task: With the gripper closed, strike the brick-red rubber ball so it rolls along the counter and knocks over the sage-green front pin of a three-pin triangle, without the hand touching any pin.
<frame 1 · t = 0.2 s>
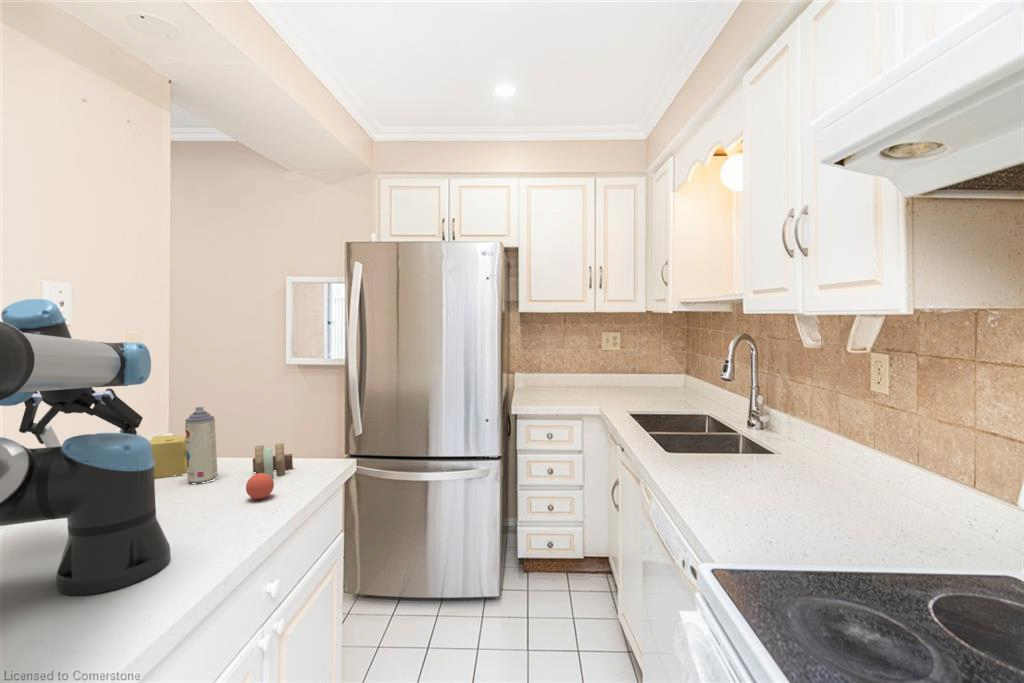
hand: (95, 450, 106), 15 cm above the countertop, tool tilted 35°, fingers open, 13 cm apart
right rear pin: (280, 474, 137), on the countertop
yellow box: (170, 473, 142), on the countertop
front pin: (269, 479, 133), on the countertop
back wall: (273, 470, 141), on the countertop
ball: (260, 486, 118), on the countertop
aerosol can: (203, 481, 134), on the countertop
left rear pin: (260, 477, 135), on the countertop
smoothie: (126, 497, 122), on the countertop
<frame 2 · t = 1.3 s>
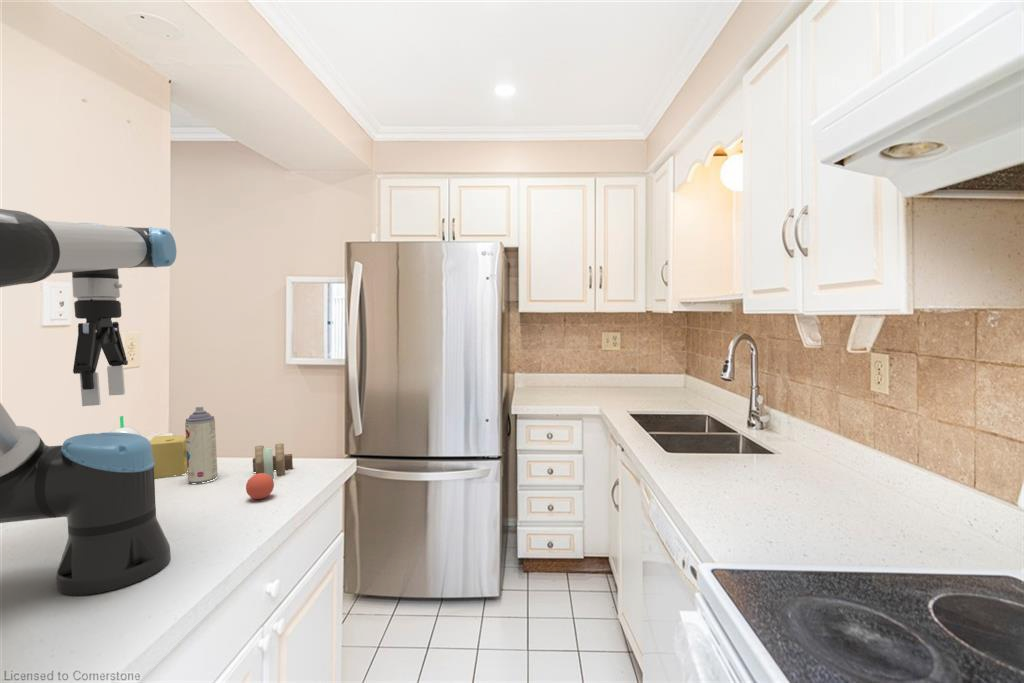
hand: (105, 399, 105), 26 cm above the countertop, tool pointing down, fingers open, 13 cm apart
nothing on the countertop moved.
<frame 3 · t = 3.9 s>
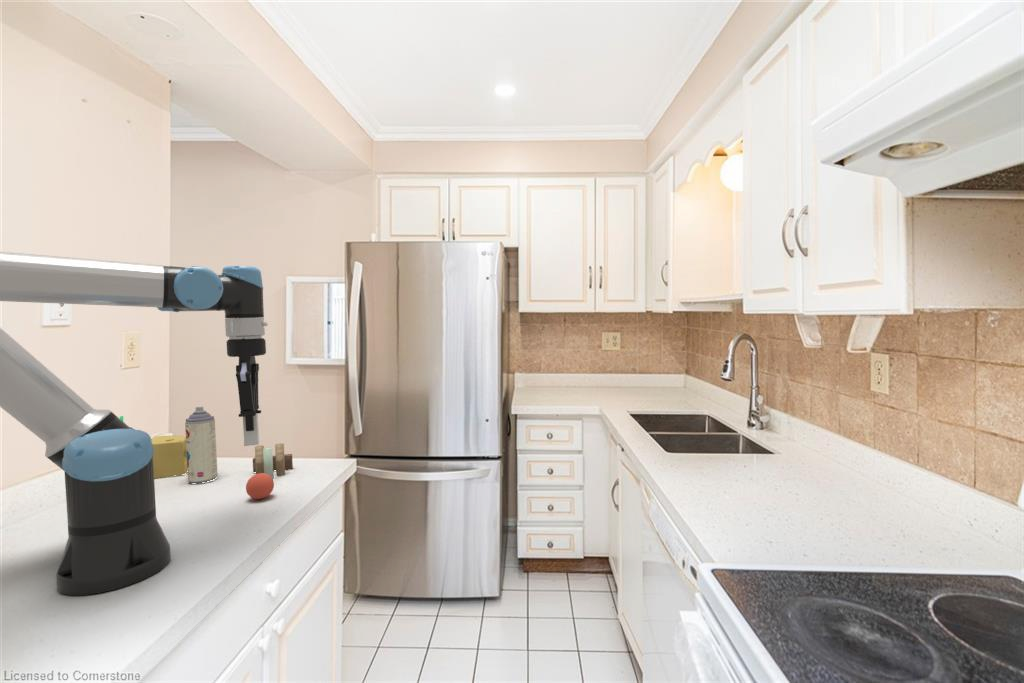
hand: (251, 444, 109), 15 cm above the countertop, tool pointing down, fingers closed
nothing on the countertop moved.
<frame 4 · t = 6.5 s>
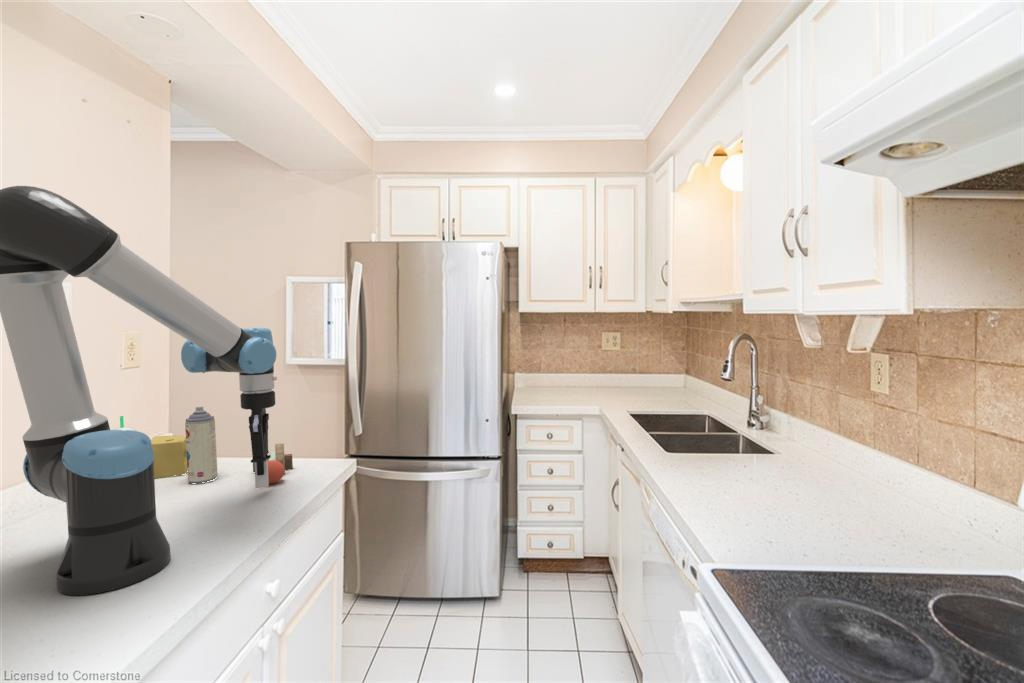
hand: (262, 486, 121), 2 cm above the countertop, tool pointing down, fingers closed
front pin: (269, 475, 133), point 1 cm above the countertop, tilted 60°
ball: (271, 471, 130), on the countertop
everything else where it was.
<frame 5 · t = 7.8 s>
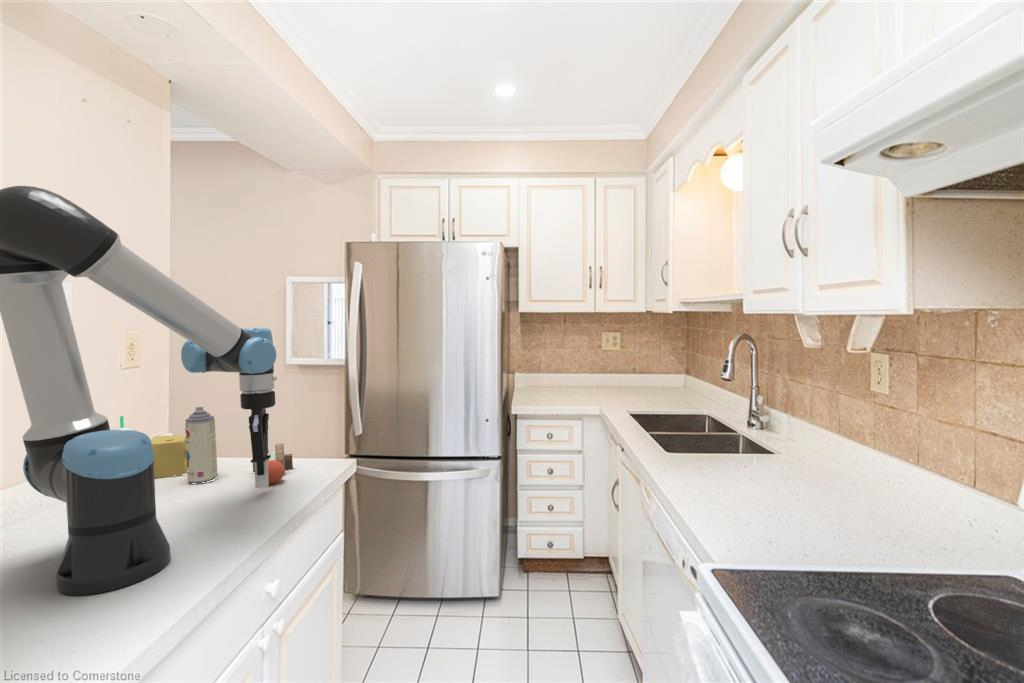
hand: (262, 486, 121), 2 cm above the countertop, tool pointing down, fingers closed
nothing on the countertop moved.
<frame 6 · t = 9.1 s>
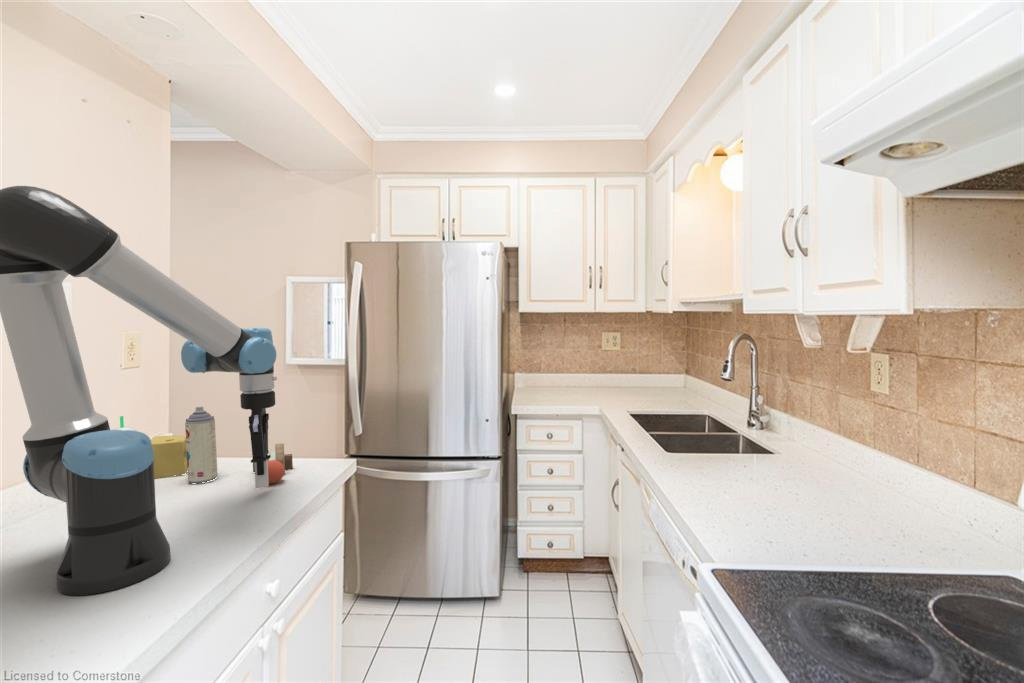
hand: (262, 486, 121), 2 cm above the countertop, tool pointing down, fingers closed
nothing on the countertop moved.
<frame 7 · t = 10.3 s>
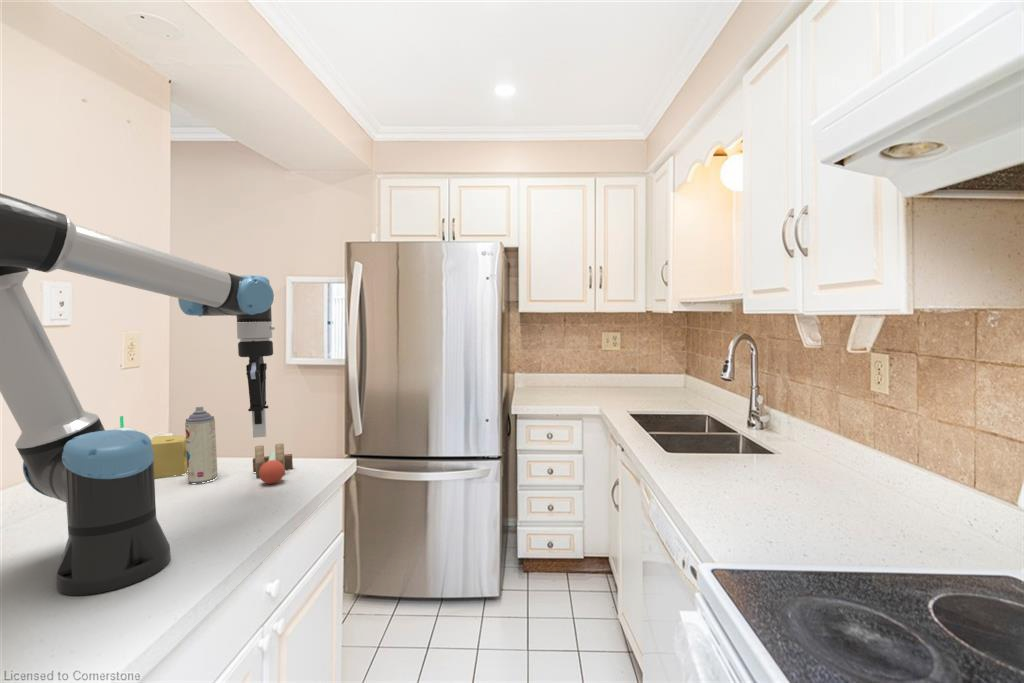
hand: (259, 436, 121), 14 cm above the countertop, tool pointing down, fingers closed
nothing on the countertop moved.
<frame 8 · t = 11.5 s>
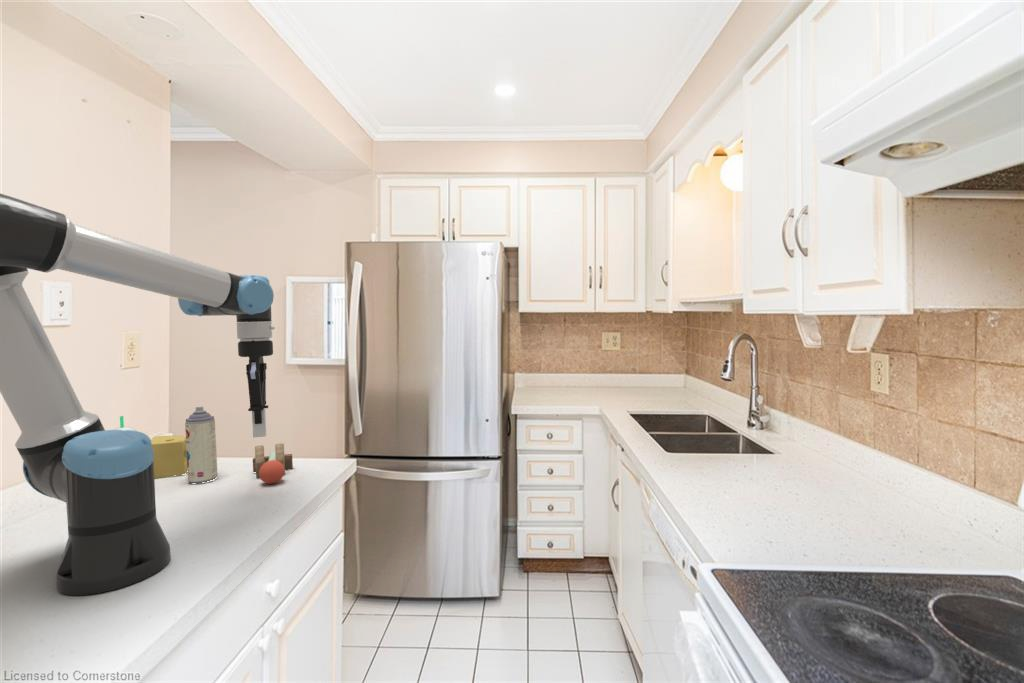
hand: (259, 436, 121), 14 cm above the countertop, tool pointing down, fingers closed
nothing on the countertop moved.
at the end: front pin tilted 60°; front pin never touched the robot; ball moved 11.6 cm from its start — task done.
